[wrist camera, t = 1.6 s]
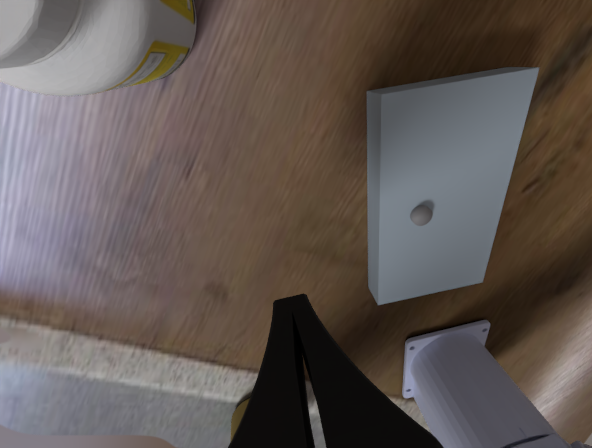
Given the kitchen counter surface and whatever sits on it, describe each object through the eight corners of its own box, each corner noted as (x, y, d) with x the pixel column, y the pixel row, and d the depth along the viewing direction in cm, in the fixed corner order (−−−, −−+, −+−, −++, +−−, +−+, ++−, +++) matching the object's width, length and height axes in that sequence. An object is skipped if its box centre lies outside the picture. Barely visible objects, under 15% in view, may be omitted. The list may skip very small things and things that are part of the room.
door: (461, 262, 23) (486, 286, 21) (366, 283, 23) (380, 309, 20) (501, 66, 16) (546, 67, 14) (363, 90, 15) (385, 95, 13)
